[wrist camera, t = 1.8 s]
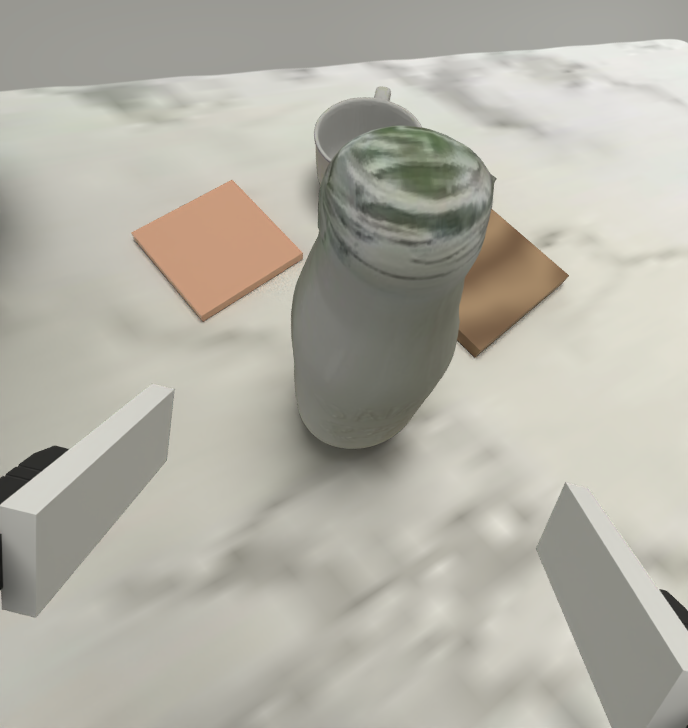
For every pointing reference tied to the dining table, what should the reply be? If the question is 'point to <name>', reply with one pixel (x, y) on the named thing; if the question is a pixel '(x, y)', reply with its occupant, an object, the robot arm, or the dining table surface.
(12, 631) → the dining table surface
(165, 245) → the terracotta tile
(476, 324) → the walnut board
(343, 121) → the teacup
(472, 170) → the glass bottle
